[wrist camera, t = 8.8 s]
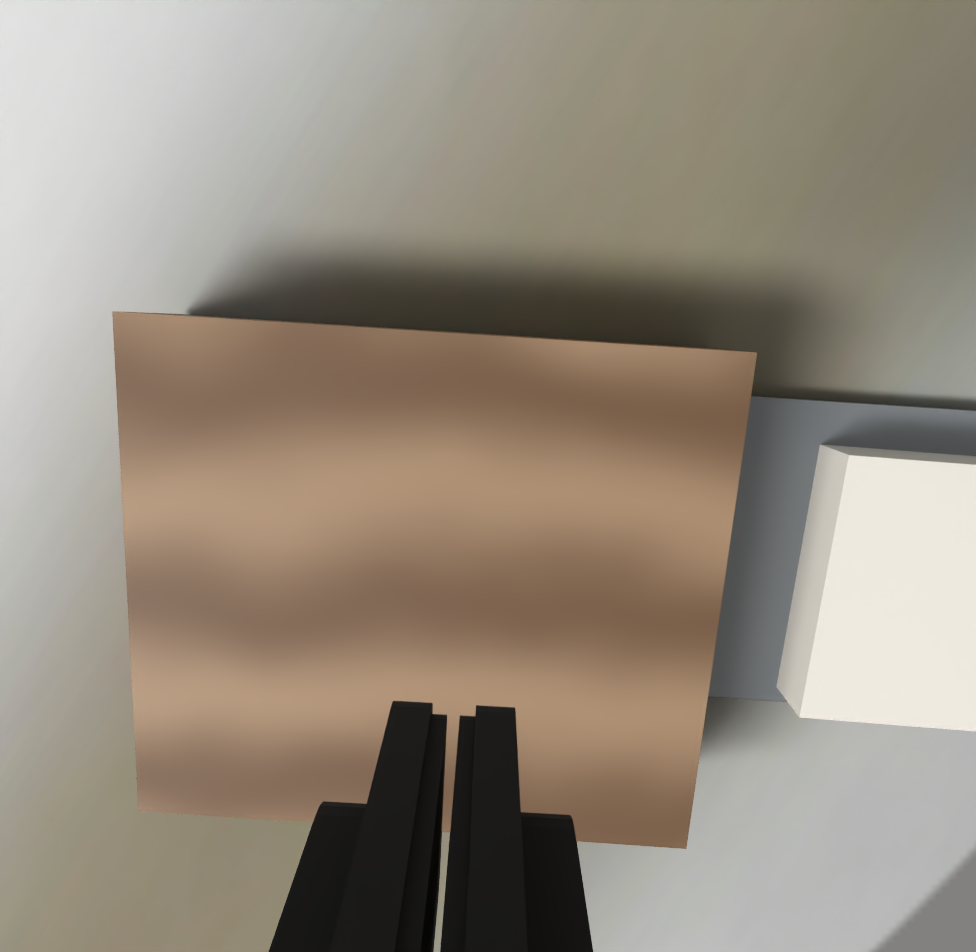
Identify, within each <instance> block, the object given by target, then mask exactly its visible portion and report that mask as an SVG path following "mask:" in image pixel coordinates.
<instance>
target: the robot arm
mask: <svg viewBox="0 0 976 952" xmlns="http://www.w3.org/2000/svg"><path fill="white" fill-rule="evenodd" d="M446 734H447V715H444V714H433V703H427V702H409V701H393V702H392V705H391V708H390V712H389V716H388V720H387V724H386V728H385V732H384V736H383V740H382V744H381V748H380V752H379V756H378V760H377V764H376V768H375V772H374V776H373V780H372V784H371V788H370V792H369V796H368V800H367V804H363V803H345V802H327V801H323V802H322V803H321V804H320V806H319V808H318V811H317V813H316V815H315V818H314V821H313V824H312V827H311V830H310V833H309V836H308V839H307V842H306V845H305V847H304V850H303V853H302V856H301V859H300V862H299V865H298V868H297V871H296V874H295V877H294V880H293V882H292V885H291V888H290V891H289V894H288V897H287V900H286V903H285V906H284V909H283V912H282V915H281V917H280V920H279V923H278V926H277V929H276V932H275V935H274V938H273V941H272V944H271V947H270V950H269V952H433V949H434V938H435V927H436V916H437V906H438V893H439V878H440V858H441V838H442V817H443V796H444V776H445V755H446ZM440 952H593V948H592V942H591V935H590V928H589V922H588V915H587V908H586V902H585V895H584V888H583V882H582V875H581V868H580V862H579V855H578V848H577V842H576V835H575V828H574V824H573V819H572V817H571V815H563V814H545V813H527V812H521V807H520V787H519V768H518V748H517V729H516V711H515V707H499V706H481V705H476V713H475V716H461V715H460V719H459V731H458V743H457V755H456V767H455V780H454V792H453V804H452V816H451V829H450V841H449V853H448V865H447V877H446V890H445V902H444V914H443V926H442V938H441V951H440Z"/></svg>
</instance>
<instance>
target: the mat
mask: <svg viewBox="0 0 976 952" xmlns="http://www.w3.org/2000/svg"><path fill="white" fill-rule="evenodd" d="M820 444H822V445H835V446H848V447H861V448H874V449H887V450H900V451H913V452H926V453H939V454H952V455H965V456H976V410H963V409H947V408H932V407H916V406H901V405H885V404H870V403H854V402H838V401H823V400H807V399H792V398H776V397H760V396H751V400H750V407H749V414H748V421H747V428H746V435H745V442H744V449H743V456H742V463H741V470H740V477H739V484H738V491H737V498H736V504H735V511H734V518H733V525H732V532H731V539H730V546H729V553H728V560H727V567H726V574H725V581H724V588H723V595H722V602H721V609H720V616H719V623H718V630H717V637H716V644H715V651H714V658H713V665H712V672H711V679H710V686H709V693H708V697H723V698H738V699H753V700H767V701H782V702H787V700H786V699H785V698H784V696H783V695H782V694H781V692H780V691H779V690H778V689H777V687H776V686H777V681H778V675H779V670H780V664H781V659H782V653H783V647H784V642H785V636H786V631H787V625H788V619H789V614H790V608H791V603H792V597H793V592H794V586H795V580H796V575H797V569H798V564H799V558H800V553H801V547H802V541H803V536H804V530H805V525H806V519H807V514H808V508H809V502H810V497H811V491H812V486H813V480H814V475H815V469H816V463H817V458H818V452H819V447H820Z"/></svg>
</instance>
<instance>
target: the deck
mask: <svg viewBox="0 0 976 952" xmlns="http://www.w3.org/2000/svg"><path fill="white" fill-rule="evenodd" d="M112 313H113V332H114V351H115V370H116V389H117V408H118V427H119V446H120V465H121V484H122V503H123V522H124V541H125V560H126V580H127V599H128V618H129V637H130V656H131V675H132V694H133V713H134V732H135V751H136V770H137V789H138V808H139V811H148V812H162V813H176V814H191V815H205V816H220V817H234V818H249V819H263V820H278V821H292V822H307V823H313V821H314V818H315V815H316V813H317V811H318V808H319V806H320V804H321V803H322V802H323V801H327V802H345V803H363V804H367V800H368V796H369V792H370V788H371V784H372V780H373V776H374V772H375V768H376V764H377V760H378V756H379V752H380V748H381V744H382V740H383V736H384V732H385V728H386V724H387V720H388V716H389V712H390V708H391V705H392V702H393V701H409V702H427V703H433V714H444V715H447V734H446V755H445V776H444V796H443V817H442V832H450V829H451V816H452V804H453V792H454V780H455V767H456V755H457V743H458V731H459V719H460V715H461V716H475V713H476V705H481V706H499V707H515V711H516V729H517V748H518V768H519V787H520V807H521V812H527V813H545V814H563V815H571V817H572V819H573V824H574V828H575V835H576V841H582V842H596V843H611V844H625V845H640V846H654V847H669V848H683V849H686V847H687V840H688V833H689V826H690V819H691V812H692V805H693V798H694V791H695V784H696V777H697V770H698V763H699V756H700V749H701V742H702V735H703V728H704V721H705V714H706V707H707V700H708V693H709V686H710V679H711V672H712V665H713V658H714V651H715V644H716V637H717V630H718V623H719V616H720V609H721V602H722V595H723V588H724V581H725V574H726V567H727V560H728V553H729V546H730V539H731V532H732V525H733V518H734V511H735V504H736V498H737V491H738V484H739V477H740V470H741V463H742V456H743V449H744V442H745V435H746V428H747V421H748V414H749V407H750V400H751V393H752V386H753V379H754V372H755V365H756V358H757V353H756V352H746V351H736V350H727V349H717V348H703V347H687V346H671V345H656V344H640V343H624V342H608V341H593V340H577V339H561V338H546V337H530V336H514V335H499V334H483V333H467V332H452V331H436V330H420V329H404V328H389V327H373V326H357V325H342V324H326V323H310V322H295V321H279V320H263V319H247V318H232V317H216V316H200V315H185V314H163V313H137V312H112Z"/></svg>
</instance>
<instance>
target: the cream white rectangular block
mask: <svg viewBox="0 0 976 952" xmlns="http://www.w3.org/2000/svg"><path fill="white" fill-rule="evenodd" d="M776 687H777V689H778V690H779V691H780V692H781V694H782V695H783V696H784V698H785V699H786V700H787V702H788V703H789V704H790V706H791V707H792V708H793V710H794V711H795V712H796V714H797V715H798V716H799V717H801V718H813V719H826V720H839V721H851V722H864V723H877V724H889V725H902V726H915V727H928V728H940V729H953V730H966V731H976V456H965V455H952V454H939V453H926V452H913V451H900V450H887V449H874V448H861V447H848V446H835V445H822V444H820V447H819V452H818V458H817V463H816V469H815V475H814V480H813V486H812V491H811V497H810V502H809V508H808V514H807V519H806V525H805V530H804V536H803V541H802V547H801V553H800V558H799V564H798V569H797V575H796V580H795V586H794V592H793V597H792V603H791V608H790V614H789V619H788V625H787V631H786V636H785V642H784V647H783V653H782V659H781V664H780V670H779V675H778V681H777V686H776Z"/></svg>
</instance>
